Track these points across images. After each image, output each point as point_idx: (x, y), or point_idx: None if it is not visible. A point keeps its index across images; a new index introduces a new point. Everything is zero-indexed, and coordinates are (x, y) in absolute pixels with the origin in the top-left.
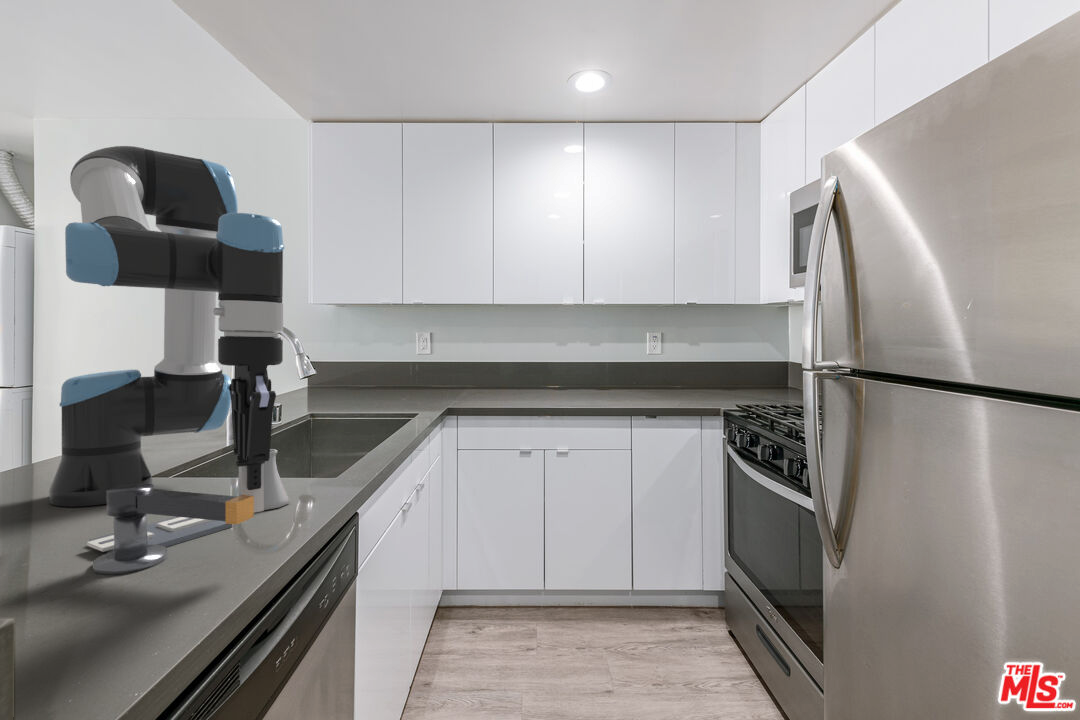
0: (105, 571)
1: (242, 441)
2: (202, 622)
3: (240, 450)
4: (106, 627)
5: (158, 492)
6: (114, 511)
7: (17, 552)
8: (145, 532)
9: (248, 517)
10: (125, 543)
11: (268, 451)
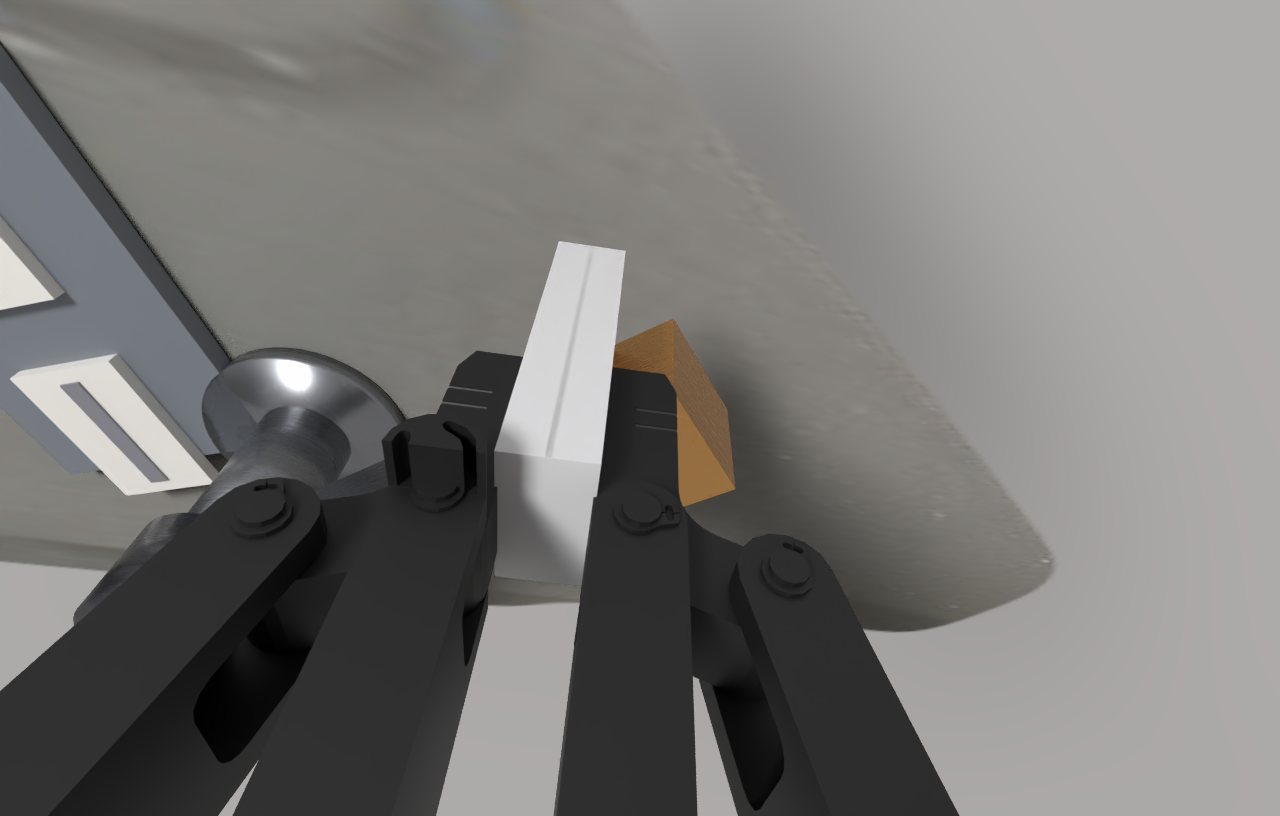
0: None
1: (443, 760)
2: (899, 428)
3: (468, 675)
4: (728, 538)
5: None
6: None
7: (85, 559)
8: (287, 472)
9: (690, 354)
10: None
11: (860, 648)
